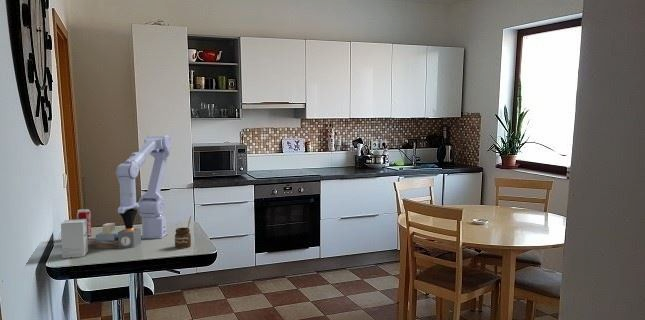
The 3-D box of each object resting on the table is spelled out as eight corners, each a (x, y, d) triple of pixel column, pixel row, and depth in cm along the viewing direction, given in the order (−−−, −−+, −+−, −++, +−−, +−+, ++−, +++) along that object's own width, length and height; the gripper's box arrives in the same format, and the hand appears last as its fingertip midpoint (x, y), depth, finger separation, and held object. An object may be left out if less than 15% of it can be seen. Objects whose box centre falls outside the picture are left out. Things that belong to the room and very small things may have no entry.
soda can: (85, 239, 193) (84, 211, 192) (74, 239, 194) (73, 210, 193) (94, 236, 198) (93, 209, 197) (83, 236, 199) (82, 208, 198)
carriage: (122, 236, 185) (121, 222, 185) (114, 240, 178) (113, 225, 178) (104, 236, 185) (104, 222, 185) (96, 240, 178) (95, 226, 178)
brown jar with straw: (176, 245, 181) (176, 214, 181) (193, 244, 182) (192, 214, 181) (173, 248, 175) (172, 217, 175) (190, 248, 176) (189, 217, 175)
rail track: (126, 243, 186) (126, 231, 185) (117, 247, 178) (117, 236, 177) (84, 243, 186) (83, 232, 185) (73, 248, 178) (73, 236, 177)
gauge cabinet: (140, 243, 185) (140, 228, 185) (133, 247, 178) (132, 232, 177) (125, 243, 185) (125, 228, 185) (117, 247, 178) (117, 232, 177)
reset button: (135, 232, 183) (135, 227, 183) (132, 234, 180) (131, 229, 179) (126, 232, 183) (126, 227, 183) (122, 234, 180) (122, 229, 179)
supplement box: (84, 256, 165) (83, 221, 165) (61, 258, 163) (59, 223, 162) (88, 251, 172) (87, 218, 172) (66, 253, 170) (65, 219, 170)
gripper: (130, 196, 173) (131, 232, 174) (145, 191, 188) (146, 224, 188) (111, 196, 173) (113, 232, 174) (128, 191, 188) (129, 224, 188)
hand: (129, 228), depth 181 cm, fingers closed, pressing on reset button
